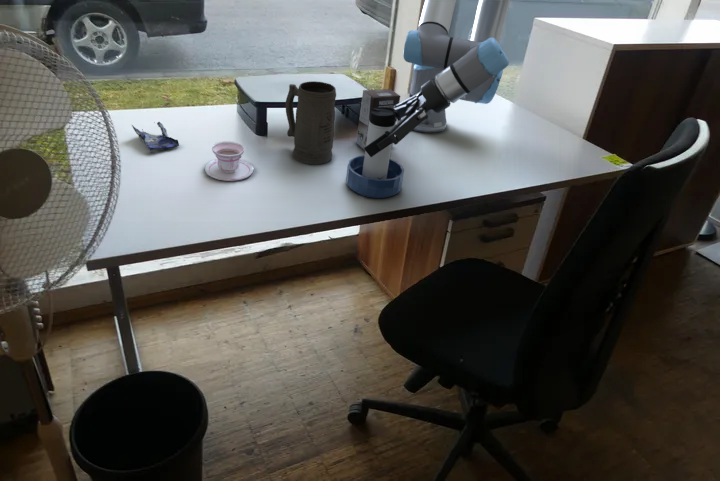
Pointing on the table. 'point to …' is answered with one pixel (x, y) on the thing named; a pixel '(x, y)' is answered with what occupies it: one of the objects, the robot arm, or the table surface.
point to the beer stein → (312, 121)
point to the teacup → (228, 162)
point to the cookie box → (370, 102)
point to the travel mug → (378, 124)
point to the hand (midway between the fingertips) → (370, 141)
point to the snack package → (157, 139)
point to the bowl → (374, 186)
